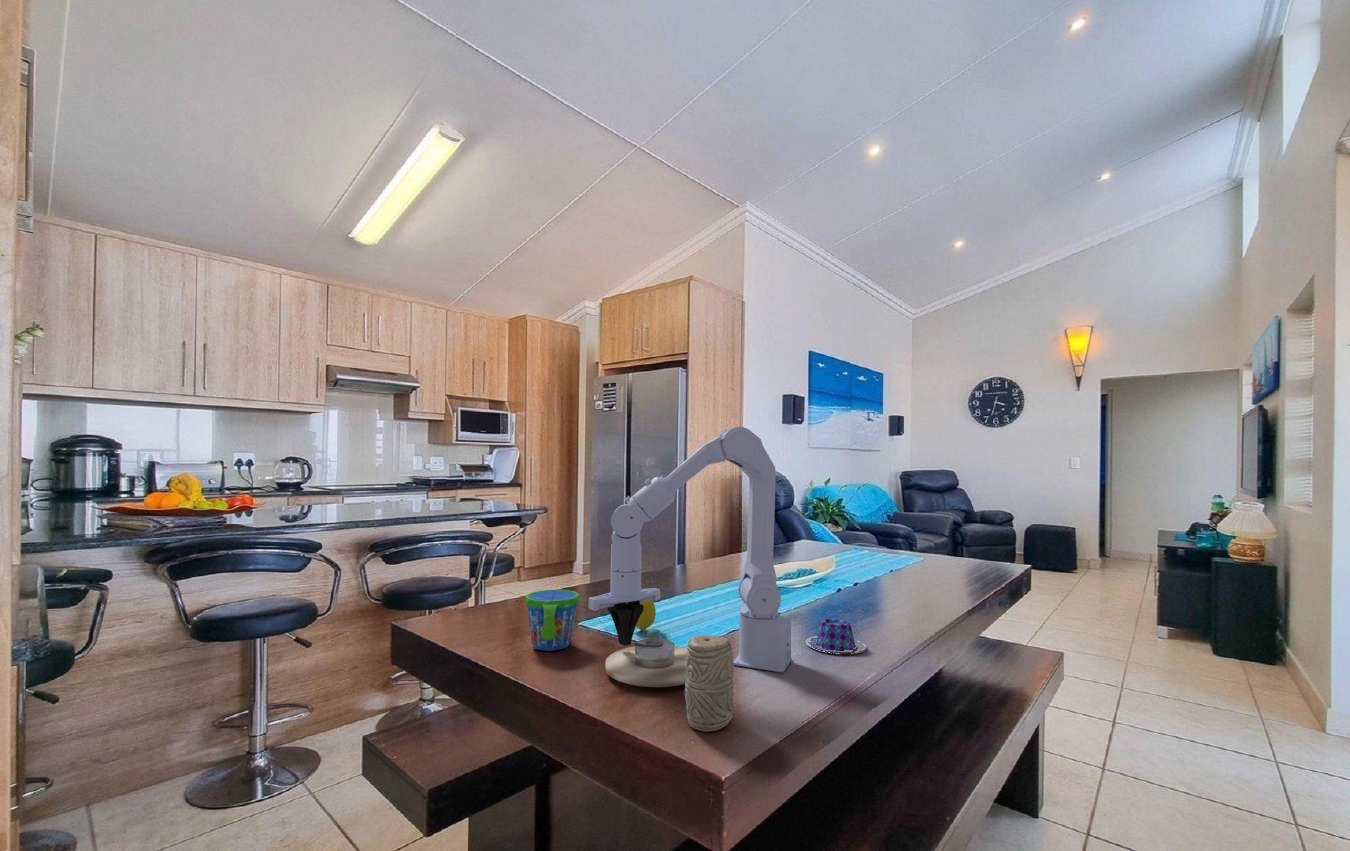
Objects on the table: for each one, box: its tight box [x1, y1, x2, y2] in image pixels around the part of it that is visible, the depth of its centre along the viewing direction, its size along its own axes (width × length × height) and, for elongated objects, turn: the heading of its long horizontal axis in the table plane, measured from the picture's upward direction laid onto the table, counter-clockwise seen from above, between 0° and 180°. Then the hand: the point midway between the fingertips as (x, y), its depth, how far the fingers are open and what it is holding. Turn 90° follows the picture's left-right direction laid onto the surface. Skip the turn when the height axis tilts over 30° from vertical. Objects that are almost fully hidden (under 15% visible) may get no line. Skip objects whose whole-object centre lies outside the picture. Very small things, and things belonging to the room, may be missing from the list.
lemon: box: [635, 600, 657, 632], centre depth 125 cm, size 6×6×8 cm
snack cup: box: [524, 589, 580, 652], centre depth 114 cm, size 16×10×10 cm
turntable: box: [605, 628, 688, 688], centre depth 100 cm, size 18×18×4 cm
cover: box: [634, 637, 676, 669], centre depth 100 cm, size 7×7×4 cm
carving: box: [684, 634, 735, 733], centre depth 81 cm, size 6×8×12 cm
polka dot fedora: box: [805, 618, 867, 655], centre depth 117 cm, size 12×12×5 cm
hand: (624, 644), depth 105 cm, fingers closed
